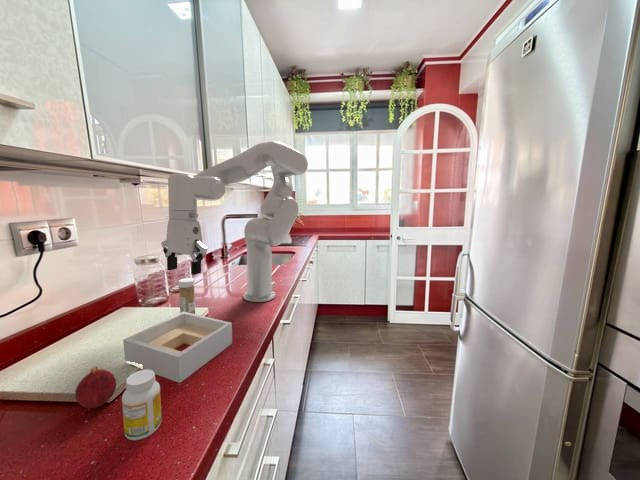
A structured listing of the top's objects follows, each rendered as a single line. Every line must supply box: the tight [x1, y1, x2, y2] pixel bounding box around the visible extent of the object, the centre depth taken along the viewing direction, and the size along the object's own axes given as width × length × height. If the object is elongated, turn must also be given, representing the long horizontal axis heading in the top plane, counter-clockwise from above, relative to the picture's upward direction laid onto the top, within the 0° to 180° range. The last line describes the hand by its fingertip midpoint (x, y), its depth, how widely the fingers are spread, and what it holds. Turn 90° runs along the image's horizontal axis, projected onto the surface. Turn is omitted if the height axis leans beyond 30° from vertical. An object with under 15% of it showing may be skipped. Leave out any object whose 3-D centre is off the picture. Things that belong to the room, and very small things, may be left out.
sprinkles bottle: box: [177, 277, 196, 314], centre depth 83 cm, size 5×5×14 cm
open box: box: [122, 312, 233, 384], centre depth 67 cm, size 17×17×6 cm
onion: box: [74, 365, 117, 409], centre depth 49 cm, size 6×6×8 cm
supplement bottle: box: [121, 369, 163, 441], centre depth 45 cm, size 5×5×10 cm
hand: (184, 271), depth 82 cm, fingers open, 9 cm apart
